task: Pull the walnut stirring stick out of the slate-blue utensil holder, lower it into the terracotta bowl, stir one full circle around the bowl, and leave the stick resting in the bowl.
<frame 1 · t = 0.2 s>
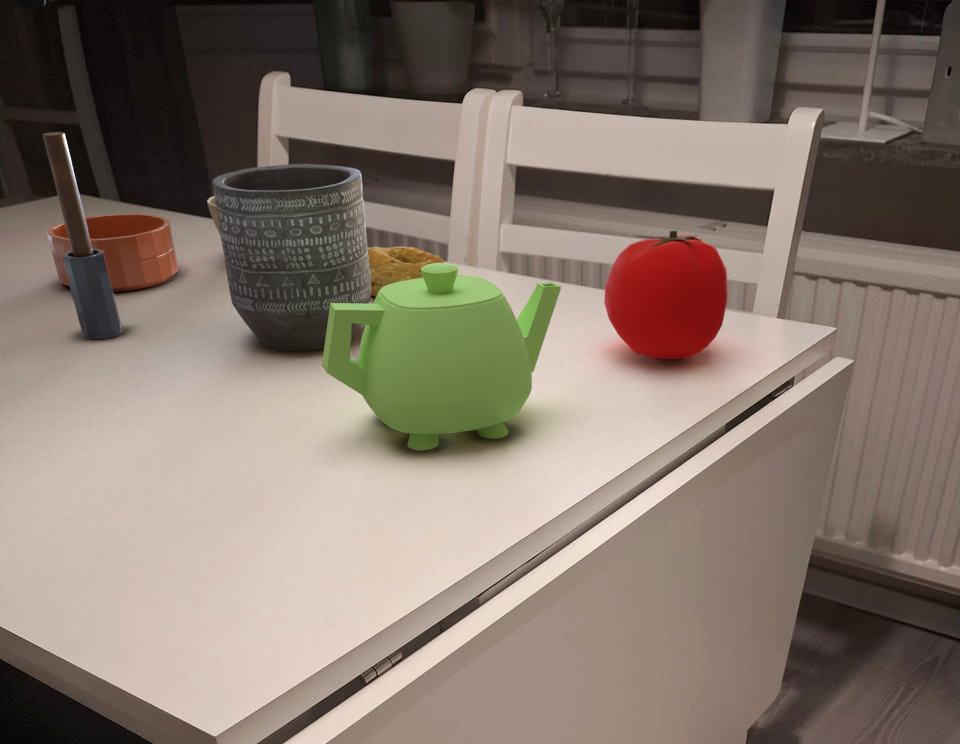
hand: (33, 4, 99), 28 cm above the table, tool pointing down, fingers open, 9 cm apart
planter: (307, 339, 105), on the table
bowl: (120, 278, 125), on the table
tomato: (661, 355, 98), on the table
flower pot: (256, 259, 132), on the table
stick: (101, 328, 107), point 1 cm above the table, touching holder
holder: (102, 333, 107), on the table
teapot: (448, 427, 85), on the table
bagel: (405, 292, 118), on the table
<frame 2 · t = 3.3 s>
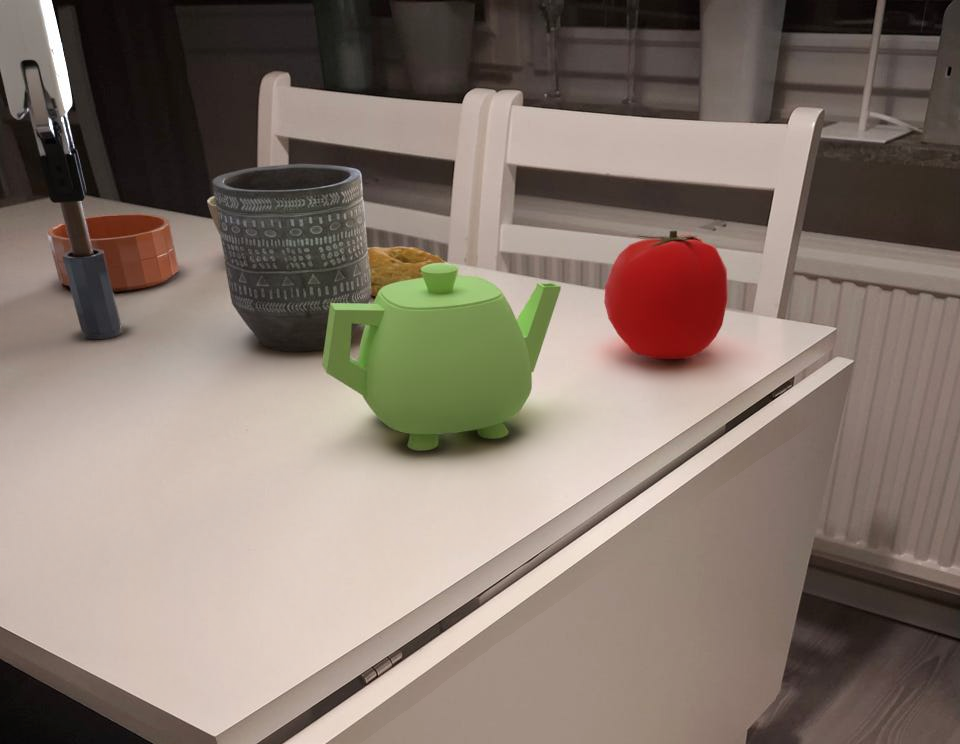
hand: (69, 197, 99), 13 cm above the table, tool pointing down, fingers closed on stick, 2 cm apart
stick: (101, 328, 107), point 1 cm above the table, touching gripper, holder
everything else where it was.
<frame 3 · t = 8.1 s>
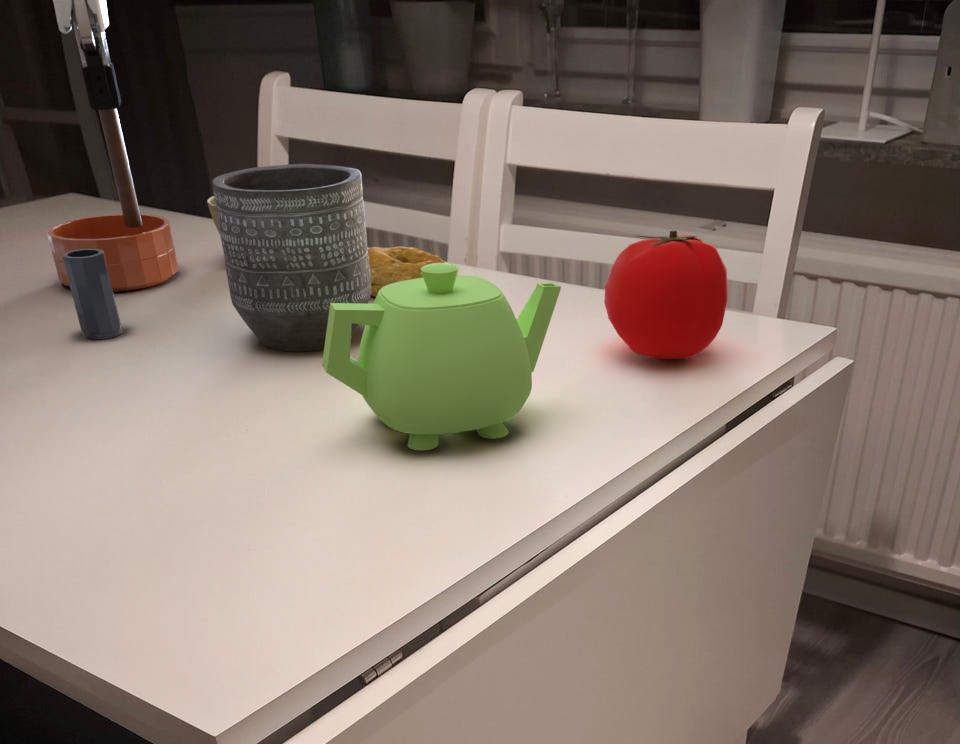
hand: (106, 106, 114), 18 cm above the table, tool pointing down, fingers closed on stick
stick: (134, 226, 122), point 6 cm above the table, touching gripper
everything else where it was.
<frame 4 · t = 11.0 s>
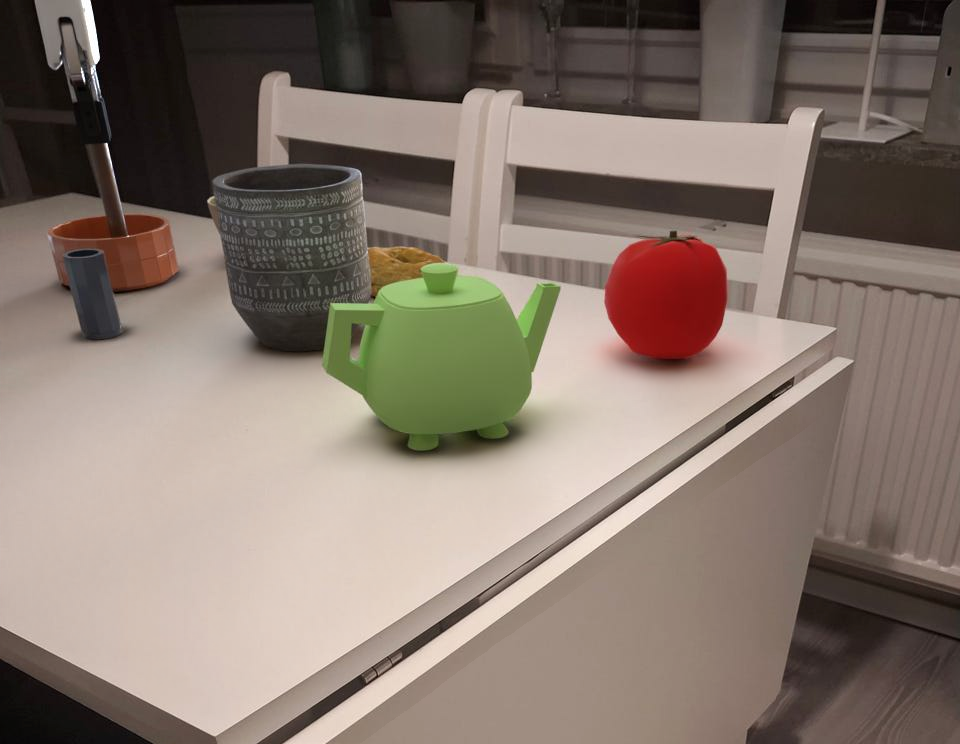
hand: (96, 140, 114), 15 cm above the table, tool pointing down, fingers closed on stick, 2 cm apart
stick: (124, 258, 122), point 3 cm above the table, touching gripper
everything else where it was.
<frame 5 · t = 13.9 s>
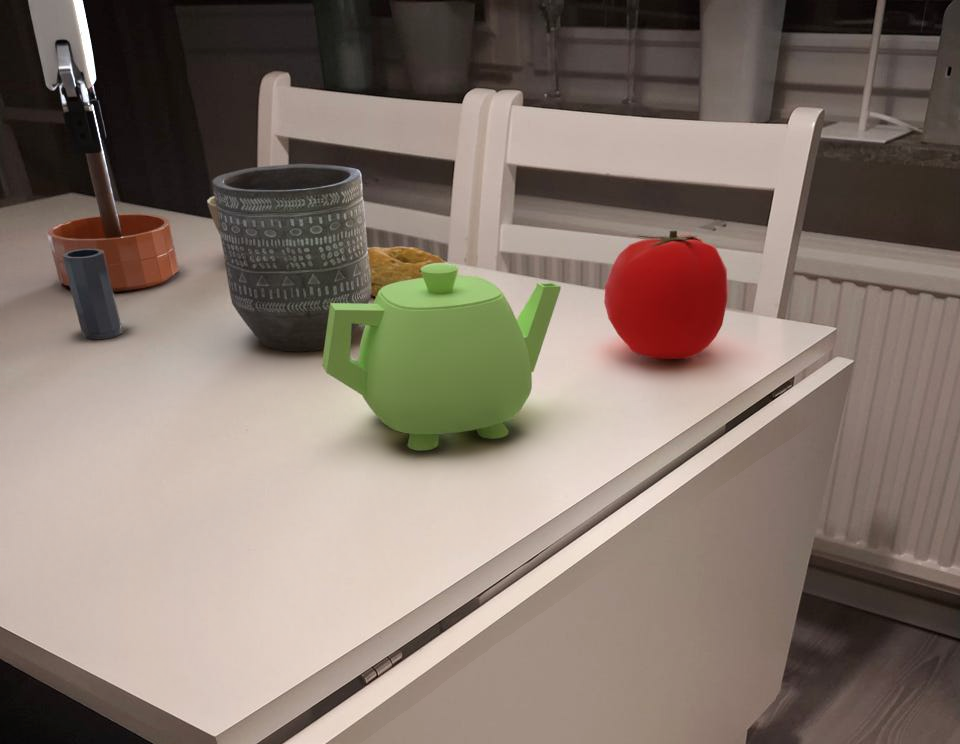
hand: (90, 146, 116), 14 cm above the table, tool pointing down, fingers open, 9 cm apart
stick: (122, 273, 125), point 1 cm above the table, touching bowl
everything else where it was.
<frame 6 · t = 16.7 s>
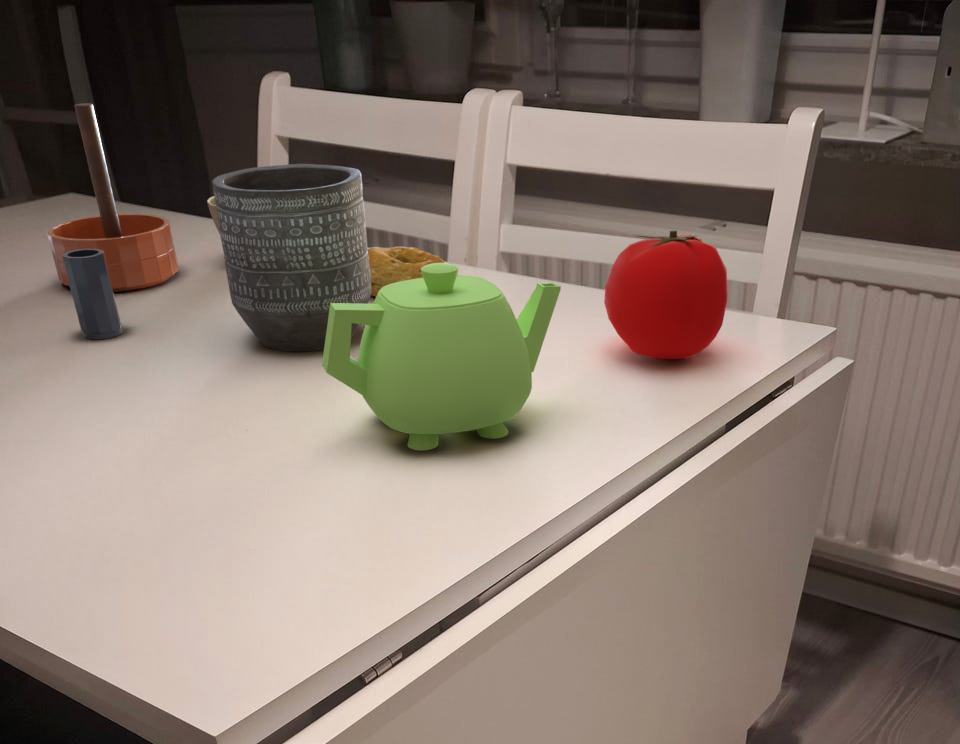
nothing on the table moved.
at the end: stick inside the target area in the bowl (0.3 cm from its centre), point 0.6 cm above the bowl's base; the gripper is holding nothing; stick moved 23.1 cm from its start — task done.
